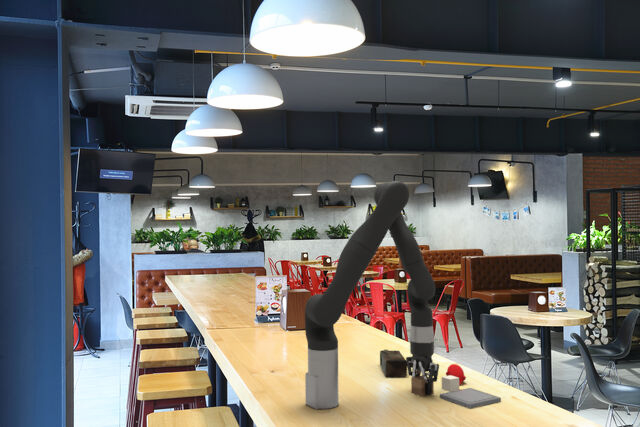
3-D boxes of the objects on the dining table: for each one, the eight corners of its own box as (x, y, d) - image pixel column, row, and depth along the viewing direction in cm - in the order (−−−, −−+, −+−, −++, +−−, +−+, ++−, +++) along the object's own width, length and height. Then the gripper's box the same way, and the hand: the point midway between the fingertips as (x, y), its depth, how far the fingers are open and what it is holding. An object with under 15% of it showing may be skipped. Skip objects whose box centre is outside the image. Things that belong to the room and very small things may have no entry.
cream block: (450, 391, 196) (449, 379, 196) (441, 389, 200) (441, 376, 200) (459, 390, 198) (459, 377, 198) (450, 387, 202) (450, 375, 202)
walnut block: (421, 396, 191) (421, 380, 191) (411, 392, 195) (411, 377, 195) (433, 394, 193) (433, 378, 193) (423, 390, 198) (423, 375, 198)
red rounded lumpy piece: (443, 370, 212) (442, 364, 207) (459, 364, 212) (458, 358, 207) (452, 391, 207) (451, 386, 202) (468, 385, 207) (468, 380, 202)
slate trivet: (469, 408, 178) (469, 404, 178) (439, 397, 189) (439, 393, 189) (500, 401, 185) (500, 397, 185) (470, 391, 196) (470, 387, 196)
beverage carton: (400, 365, 233) (399, 348, 234) (408, 378, 214) (407, 359, 214) (379, 365, 233) (379, 348, 233) (385, 378, 214) (385, 360, 214)
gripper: (398, 337, 199) (399, 388, 199) (427, 344, 186) (428, 399, 186) (416, 334, 203) (417, 385, 202) (445, 341, 190) (446, 396, 190)
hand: (422, 392), depth 194 cm, fingers closed on walnut block, 5 cm apart
